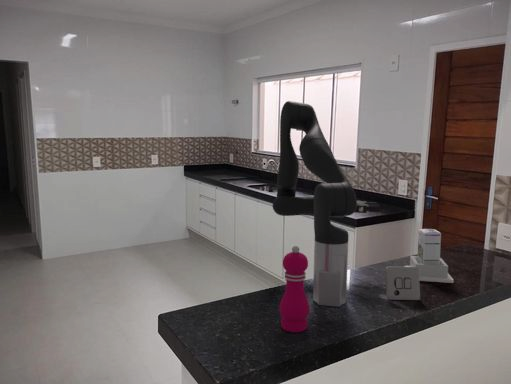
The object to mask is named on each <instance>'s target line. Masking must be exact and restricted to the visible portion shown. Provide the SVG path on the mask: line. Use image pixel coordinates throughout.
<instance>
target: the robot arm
mask: <svg viewBox="0 0 511 384" xmlns="http://www.w3.org/2000/svg"><path fill="white" fill-rule="evenodd" d="M279 119H280V121H279V122H280V123H279V164H278V170H277V171H278V173H277V179H276V184H277V191H276V196H275V197H276V198H275V199H274V200H273V202H272V210H273V211H274V213H276V214H277V215H278V216H283V217H292V216H312V217H313V230H314V248H313V249H314V250H313V251H314V253H313V254H314V255H313V288H312V289H313V291H312V292H313V293H312V294H313V295H312V296H313V297H312V299H313V301H314V302H315V303H316V304H317V305H318V306H328V307H336V308H337V307H338V308H339V307H342V305H345V304H346V303H347V287H348V283H347V282H348V262H349V261H348V259H349V255H348V254H349V232H348V231H347V230H346V229H344V228H342V227H338V226H335V225H334V224H332V223H331V222H332V221H331V218H344V217H347V216H352V215H353V214H354V213H355V214H367V213H380V212H381V208H382V207H381V205H379V202H371V201H370V202H368V201H365V200H363V201H362V200H358V198H357V196H356V195H357V194H356V192H355V190H354V187H353V185H352V184H351V182H350V181H349V179H348V178H347V176H346V175H345V174H344V171H343V170H342V169H341V167H340V165H339V163H338V162H337V160H336V158H335V155H334V153H333V152H332V149H331V147H330V145H329V143H328V141H327V139H326V138H325V136H324V133H323V131H322V128H321V126H320V123H319V120H318V117H317V113H316V111H315V109H314V107H313V106H312V105H311V104H308V103H303V102H297V101H291V100H289V101H285V103H284V104H283V106H282V108H281V111H280V118H279ZM291 130H299V131H302V132H304V134H305V135H304V136H303V138H302V139H301V141H300V144H299V148H298V149H299V154H300V157H301V159H302V162H303V165H304V166H305V167H306V169H307V170H308V171H309V172H311V173H312V174H313V176H316V177H317V178H319V179H321V180H322V181H323V182H322V183H319V184H317V185H316V187H315V188H314V191H313V195H303V196H296V194H297V192H296V191H297V189H296V188H297V185H298V184H297V183H298V179H299V178H298V177H299V170H300V165H299V159H298V156H297V154H296V151H295V149H294V146H293V142H292V139H291V137H292V136H291Z"/></svg>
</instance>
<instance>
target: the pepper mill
mask: <svg viewBox="0 0 511 384" xmlns="http://www.w3.org/2000/svg"><path fill="white" fill-rule="evenodd" d="M308 261H309V260H308V257H307V256H306V255H305V254H304V253H303V252H300V247H299V246H297V245H294V246H293V247H292V248H291V252H289V253H287V254H286V255H285V256H284V257H283V260H282V266H283V269H284V270H285V271H284V279H285V282H286V285H285V286H286V287H285V290H284V293H283V296H282V297H281V300H280V304H279V309H278V310H279V313H280V316H281V320H280V322H281V323H280V324H281V325H280V327H281V328H282V329H283V331H286V332H290V333H301V332H304V331H306V330H307V328H308V319H307V317H308V316H309V315H310V304H309V301H308V298H307V296H306V294H305V293H306V292H305V285H304V282H305V280H306V272H305V271H306V270H307V269H308V267H309V262H308Z"/></svg>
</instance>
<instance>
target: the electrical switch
mask: <svg viewBox="0 0 511 384" xmlns="http://www.w3.org/2000/svg"><path fill="white" fill-rule="evenodd" d="M384 269H385V284H386V291H385V292H386V293H385V294H386V299H387V300H390V301H391V300H392V301H394V300H395V301H419V300H420V299H421V285H420V284H421V283H420V281H419V269H418V268H417V267H405V266H391V265H390V266H386V267H385V268H384Z"/></svg>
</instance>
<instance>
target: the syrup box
mask: <svg viewBox="0 0 511 384" xmlns="http://www.w3.org/2000/svg"><path fill="white" fill-rule="evenodd" d="M441 241H442V233H441V232H440V231H439V230H437V229H434V228H419V229H418V239H417V256H418V257H417V262H418V263H419V264H435V265H440V258H441V243H442V242H441Z"/></svg>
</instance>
